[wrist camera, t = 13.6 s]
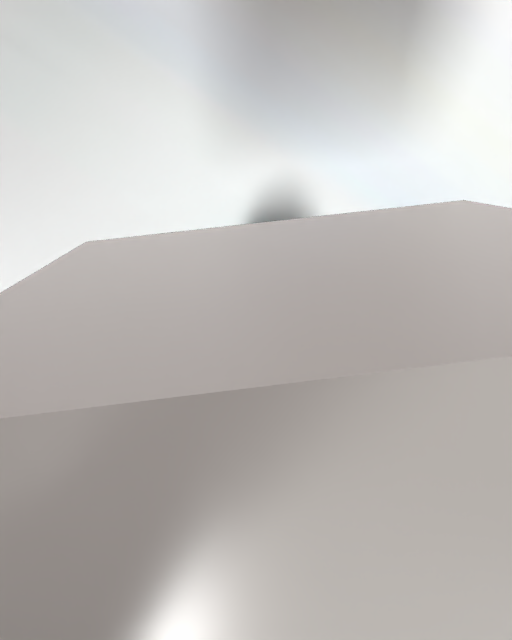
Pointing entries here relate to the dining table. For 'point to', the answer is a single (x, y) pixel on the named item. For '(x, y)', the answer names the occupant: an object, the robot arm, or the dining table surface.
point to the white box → (263, 432)
